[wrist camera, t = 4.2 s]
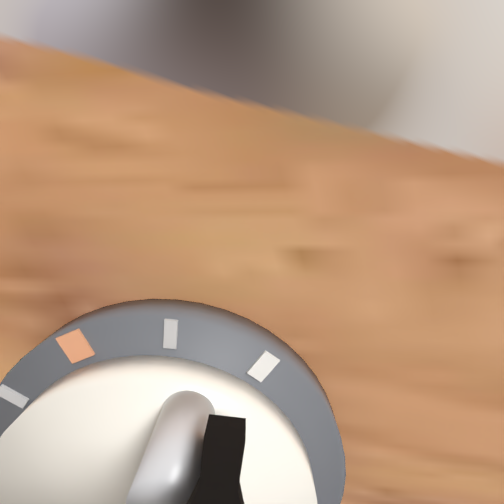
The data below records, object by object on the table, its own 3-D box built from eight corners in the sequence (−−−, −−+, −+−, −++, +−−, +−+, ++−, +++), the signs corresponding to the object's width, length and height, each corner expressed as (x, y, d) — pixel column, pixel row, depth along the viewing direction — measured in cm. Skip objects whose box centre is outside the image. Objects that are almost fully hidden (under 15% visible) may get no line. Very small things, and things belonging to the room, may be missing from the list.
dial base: (368, 529, 16) (379, 567, 15) (96, 584, 18) (80, 624, 16) (285, 252, 12) (289, 264, 11) (-56, 354, 14) (-96, 378, 12)
